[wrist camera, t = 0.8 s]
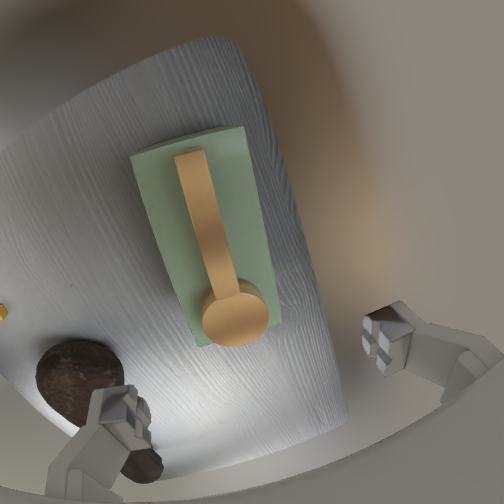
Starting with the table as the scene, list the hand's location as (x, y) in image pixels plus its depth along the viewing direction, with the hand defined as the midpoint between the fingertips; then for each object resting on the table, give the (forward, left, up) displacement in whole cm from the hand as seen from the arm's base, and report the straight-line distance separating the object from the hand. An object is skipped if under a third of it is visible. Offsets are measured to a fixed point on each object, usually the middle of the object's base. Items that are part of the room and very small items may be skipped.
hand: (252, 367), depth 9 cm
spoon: (+1, 0, -11) cm, 11 cm away
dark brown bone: (+23, -20, -19) cm, 36 cm away
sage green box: (+1, 0, -19) cm, 19 cm away
